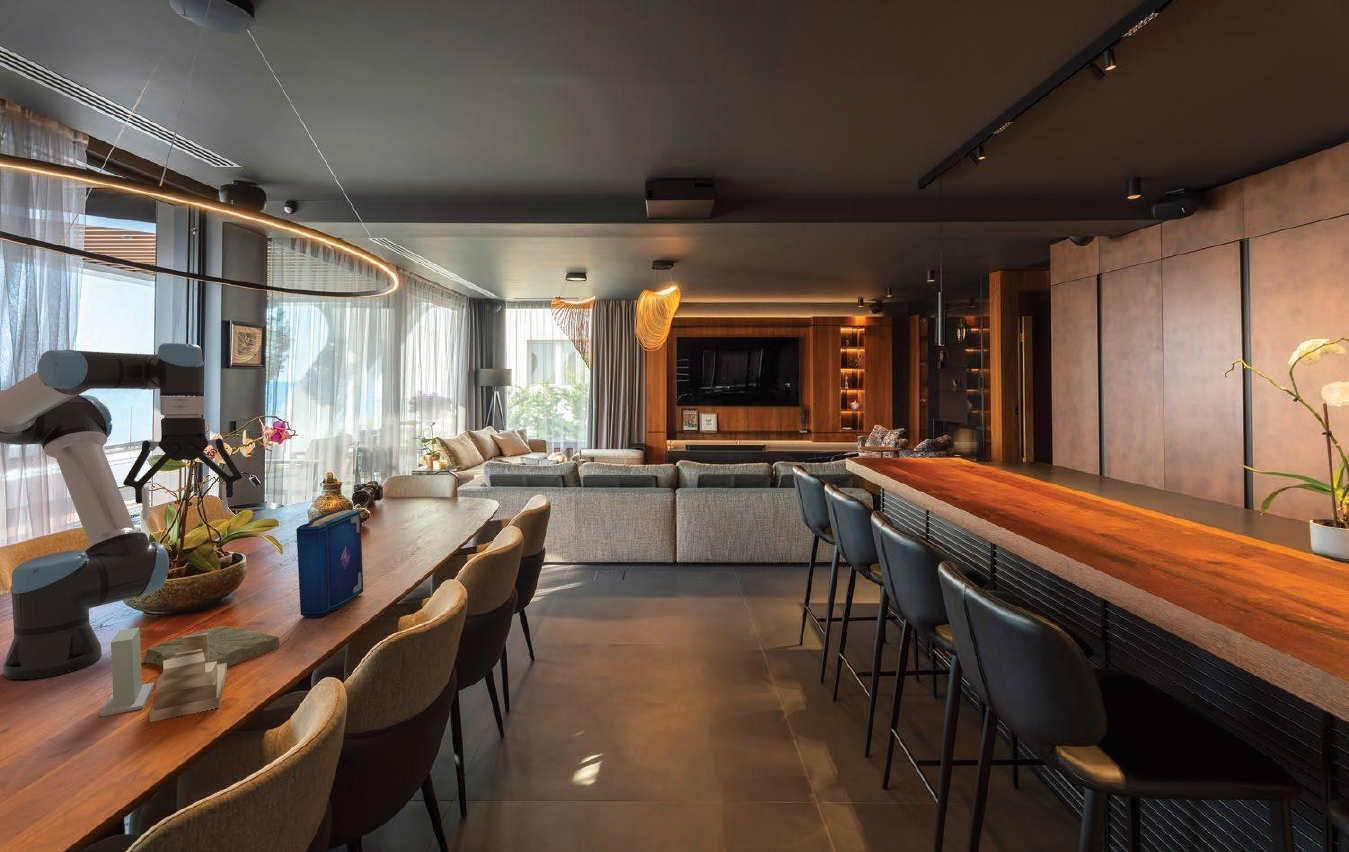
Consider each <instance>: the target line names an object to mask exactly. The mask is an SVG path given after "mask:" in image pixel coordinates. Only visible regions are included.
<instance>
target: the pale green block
mask: <svg viewBox="0 0 1349 852" xmlns="http://www.w3.org/2000/svg"><path fill="white" fill-rule="evenodd" d="M140 628H141V627H134V628H133V627H132V628H127V629H121V630H119V631H118V632H117V633H116V634H115V636H114V637H113V639H112V641H110V653H111V654H110V655H111V656H110V657H111V674H112V675H111V677H112V678H111V679H112V693H113V704H114V707H116V706H121V705H126V704H132V703H135V701H136V699H137V697H138V695H139V693H140V691H141V689H142V685H143V681H142V679H143V678H142V657H141V656H142V654H141V652H142V651H141V650H142V649H141V631H140V630H141V629H140Z"/></svg>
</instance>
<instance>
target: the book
mask: <svg viewBox="0 0 1349 852" xmlns="http://www.w3.org/2000/svg"><path fill="white" fill-rule="evenodd" d="M361 521H362V520H361V510H360V509H356V510H351V509H345V510H341V509H337V510H333V511H329V512H326V513H323V514H321V515H319V516H317V517H314V518H312V519H310V520H309V521H308V522H307V523H304V524H301V525H300V526H298V527H297V528H296V549H297V567H298V568H297V569H298V590H299V607H300V609H299V610H300V615H301V616H302V617H307V618H321V617H324V616H325V615H327V614H328V613H330V612H334V611H337V610H338V609H340V608H342V607H344V606H345V605H347V604H349V603H350V602H351V601H353V600H354V599H355V598H356V597H358V596H359V595H360V594H362V593H363V592H364V573H363V569H364V568H363V551H362V550H363V549H362V547H363V546H362V544H363V543H362V525H361V524H362V523H361ZM346 603H347V604H346ZM341 606H342V607H341ZM336 609H337V610H336ZM333 610H334V611H333Z"/></svg>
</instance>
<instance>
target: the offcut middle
mask: <svg viewBox="0 0 1349 852" xmlns="http://www.w3.org/2000/svg"><path fill="white" fill-rule="evenodd" d="M217 674H218V672H217V661H215V662H209V663H205V672H202V673H197V674H192V675H188V676H183V677H178V678H174V679H169V680H165V681H164V672H163V671H162V673H161V674H160V675H159V677H158V678H157V680H156V681H157V683H156V686H157V685H158V693H163V692H169V691H175V690H182V689H188V688H194V687H201V686H207V685H212V684H213V682H214V680H215V678H216V676H217Z"/></svg>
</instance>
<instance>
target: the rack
mask: <svg viewBox="0 0 1349 852" xmlns="http://www.w3.org/2000/svg"><path fill="white" fill-rule="evenodd" d="M187 635H188V634H187ZM182 636H183V652H179V653H176V654H175V658H179V657H184V656H189V655H194V654H199V653H204V658H205V663H209V649H208V633H201V634H195V635H188V636H186V635H182ZM217 672H218V674H217V696H216V698H212V699H207V700H202V701H197V702H193V703H188V704H183V705H178V706H174V707H169V708H164V709H159V710H155V711H154V701H153V702H152V704H151V706H150V709H149V722H150V723H152V722H156V721H157V722H159V721H163V720H166V719H167V720H168V719H171V718H177V716H178V717H182V716H181V715H183V716H186V715H192V714H197V712H198V713H201V712H202V711H203V712H206V711H207V710H208V711H211V709H213V710H216V709H215V708H218V709H219V708H220V706H219V705H221V701H222V697H223V693H222V692H224V687H225V685H226V683H225V682H226V679H227V674H228V667H227V663H224V664H218V665H217ZM220 700H221V701H220Z"/></svg>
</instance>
